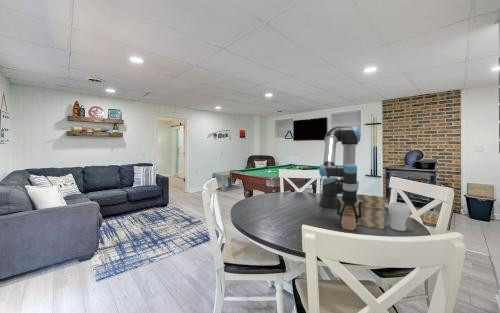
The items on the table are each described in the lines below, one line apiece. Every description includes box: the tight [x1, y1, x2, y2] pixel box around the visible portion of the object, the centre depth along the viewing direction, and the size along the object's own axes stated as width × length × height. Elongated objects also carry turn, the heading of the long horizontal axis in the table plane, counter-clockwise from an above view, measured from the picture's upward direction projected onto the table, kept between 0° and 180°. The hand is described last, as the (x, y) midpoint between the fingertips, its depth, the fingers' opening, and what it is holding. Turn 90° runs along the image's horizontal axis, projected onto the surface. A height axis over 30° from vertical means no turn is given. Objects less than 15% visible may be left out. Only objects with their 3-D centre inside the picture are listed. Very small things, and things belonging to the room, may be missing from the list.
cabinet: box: [342, 209, 355, 231], centre depth 132 cm, size 6×10×9 cm, turn 152°
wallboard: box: [340, 192, 386, 230], centre depth 136 cm, size 24×5×19 cm, turn 62°
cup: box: [387, 201, 411, 232], centre depth 129 cm, size 11×11×15 cm
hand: (348, 227), depth 130 cm, fingers closed on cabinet, 6 cm apart
